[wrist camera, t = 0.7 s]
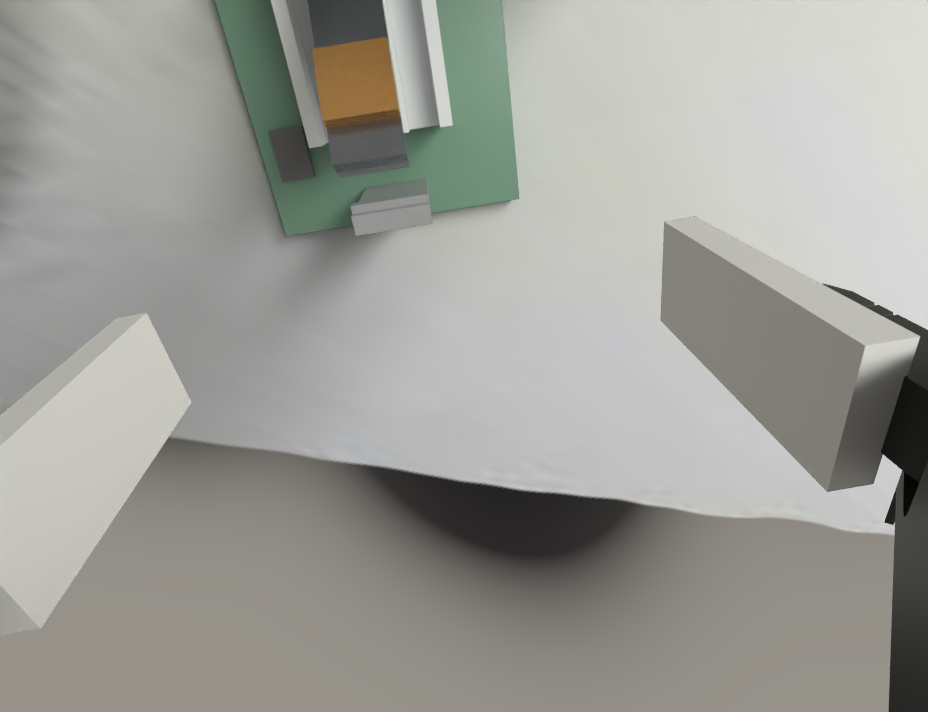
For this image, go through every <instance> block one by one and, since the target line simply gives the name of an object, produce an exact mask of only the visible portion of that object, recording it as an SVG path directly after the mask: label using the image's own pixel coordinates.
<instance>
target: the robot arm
mask: <svg viewBox="0 0 928 712" xmlns="http://www.w3.org/2000/svg"><path fill="white" fill-rule="evenodd" d="M661 321H662V322H663V323H664V324H665V325H666V326H667V328H668V329H669V330H670V331H671V332H672V333H673V334H674V335H675V336H676V337H677V338H678V339H679V340H680V341H681V342H682V343H683V344H684V345H685V346H686V347H687V348H688V349H689V350H690V351H691V352H692V353H693V354H694V355H695V356H696V357H697V358H698V359H699V360H700V361H701V362H702V364H703V365H704V366H705V367H706V368H707V369H708V370H709V371H710V372H711V373H712V374H713V375H714V376H715V377H716V378H717V379H718V380H719V381H720V382H721V383H722V384H723V385H724V386H725V387H726V388H727V389H728V390H729V391H730V392H731V393H732V394H733V395H734V396H735V397H736V398H737V400H738V401H739V402H740V403H741V404H742V405H743V406H744V407H745V408H746V409H747V410H748V411H749V412H750V413H751V414H752V415H753V416H754V417H755V418H756V419H757V420H758V421H759V422H760V423H761V424H762V425H763V426H764V427H765V428H766V429H767V430H768V431H769V432H770V433H771V435H772V436H773V437H774V438H775V439H776V440H777V441H778V442H779V443H780V444H781V445H782V446H783V447H784V448H785V449H786V450H787V451H788V452H789V453H790V454H791V455H792V456H793V457H794V458H795V459H796V460H797V461H798V462H799V463H800V464H801V465H802V466H803V467H804V468H805V469H806V471H807V472H808V473H809V474H810V475H811V476H812V477H813V478H814V479H815V480H816V481H817V482H818V483H819V484H820V485H821V486H822V487H823V488H824V489H825V490H826V491H827V492H829V491H835V490H841V489H847V488H852V487H858V486H864V485H870V484H873V483H874V480H875V477H876V474H877V471H878V468H879V464H880V461H881V458H882V455H885V456H886V457H887V458H888V459H890V460H891V461H892V462H893V463H894V464H896V465H897V466H898V467H899V468H900V469H902V470H903V471H902V473H901V476H900V479H899V482H898V485H897V488H896V491H895V493H894V496H893V499H892V502H891V505H890V508H889V511H888V513H887V516H886V519H885V523H888V524H892V525H893V524H894V522H895V543H894V571H893V572H894V573H893V600H892V631H891V659H890V689H889V712H928V330H927V329H925V328H923V327H921V326H919V325H917V324H915V323H913V322H911V321H909V320H907V319H905V318H903V317H901V316H899V315H893V312H891V311H889V310H887V309H885V308H884V307H882V306H880V305H876V306H875V305H874V302H872V301H870V300H868V299H866V298H864V297H862V296H860V295H858V294H856V293H854V292H852V291H849V290H845V289H841V288H838V287H834V286H830V285H827V284H821V283H819V282H817V281H815V280H813V279H811V278H810V277H808V276H806V275H804V274H802V273H800V272H798V271H796V270H795V269H793V268H791V267H789V266H787V265H785V264H783V263H781V262H779V261H778V260H776V259H774V258H772V257H770V256H768V255H766V254H764V253H763V252H761V251H759V250H757V249H755V248H753V247H751V246H749V245H748V244H746V243H744V242H742V241H740V240H738V239H736V238H734V237H732V236H731V235H729V234H727V233H725V232H723V231H721V230H719V229H717V228H716V227H714V226H712V225H710V224H708V223H706V222H704V221H702V220H701V219H699V218H697V217H695V216H694V217H688V218H682V219H677V220H671V221H665V222H664V242H663V268H662V295H661ZM191 403H192V402H191V400H190V398H189V396H188V394H187V392H186V390H185V388H184V386H183V384H182V382H181V380H180V378H179V376H178V375H177V373H176V371H175V369H174V367H173V365H172V363H171V361H170V359H169V357H168V355H167V353H166V351H165V349H164V347H163V345H162V343H161V341H160V339H159V337H158V335H157V333H156V331H155V329H154V327H153V325H152V323H151V321H150V319H149V317H148V315H147V313H141V314H136V315H130V316H124V317H119V318H116V319H114V320H113V321H112V322H111V323H110V324H108V325H107V326H106V327H105V328H104V329H102V330H101V331H100V332H99V333H98V334H97V335H95V336H94V337H93V338H92V339H91V340H89V341H88V342H87V343H86V344H85V345H83V346H82V347H81V348H80V349H79V350H77V351H76V352H75V353H74V354H73V355H71V356H70V357H69V358H68V359H67V360H66V361H64V362H63V363H62V364H61V365H60V366H58V367H57V368H56V369H55V370H54V371H52V372H51V373H50V374H49V375H48V376H46V377H45V378H44V379H43V380H42V381H40V382H39V383H38V384H37V385H36V386H34V387H33V388H32V389H31V390H30V391H29V392H27V393H26V394H25V395H24V396H23V397H21V398H20V399H19V400H18V401H17V402H15V403H14V404H13V405H12V406H11V407H9V408H8V409H7V410H6V411H5V412H3V413H2V414H1V415H0V636H2V635H8V634H13V633H19V632H25V631H31V630H37V629H41V627H42V626H43V624H44V623H45V621H46V620H47V618H48V617H49V615H50V614H51V612H52V611H53V609H54V608H55V606H56V605H57V603H58V602H59V600H60V599H61V597H62V596H63V594H64V593H65V591H66V590H67V588H68V587H69V585H70V584H71V582H72V581H73V579H74V578H75V576H76V575H77V573H78V572H79V570H80V569H81V567H82V566H83V564H84V563H85V561H86V560H87V558H88V557H89V555H90V554H91V552H92V551H93V549H94V548H95V546H96V545H97V543H98V542H99V540H100V539H101V537H102V536H103V534H104V533H105V531H106V530H107V528H108V527H109V525H110V524H111V522H112V521H113V519H114V518H115V516H116V515H117V513H118V512H119V510H120V509H121V507H122V506H123V504H124V503H125V501H126V500H127V498H128V497H129V495H130V494H131V492H132V491H133V489H134V488H135V486H136V485H137V483H138V482H139V480H140V479H141V477H142V476H143V474H144V473H145V471H146V470H147V468H148V467H149V465H150V464H151V462H152V461H153V459H154V458H155V456H156V455H157V453H158V452H159V450H160V449H161V447H162V446H163V444H164V443H165V441H166V440H167V438H168V437H169V435H170V434H171V432H172V431H173V429H174V428H175V426H176V425H177V423H178V422H179V420H180V419H181V417H182V416H183V415H184V413H185V412H186V410H187V409H188V407H189V406H190V404H191Z"/></svg>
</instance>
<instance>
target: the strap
mask: <svg viewBox="0 0 928 712" xmlns="http://www.w3.org/2000/svg"><path fill="white" fill-rule="evenodd" d="M308 6H309V13H310V20H311V26H312V33H313V40H314V47H315V48H313V49H312V53H313V60H314V67H315V74H316V80H317V87H318V94H319V101H320V108H321V114H322V121H323V123H324V125H325V127H326V129H327V135H328V142H329V149H330V155H331V162H332V166H333V167H334V169H335V171H336V173H337V174H338V176H339V178H345V177H351V176H357V175H363V174H370V173H376V172H382V171H389V170H395V169H401V168H407V167H410V166H409V159H408V153H407V147H406V142H405V137H404V131H403V125H402V118H401V112H400V106H399V100H398V93H397V87H396V81H395V74H394V68H393V62H392V56H391V49H390V43H389V37H388V30H387V24H386V18H385V12H384V5H383V0H308Z"/></svg>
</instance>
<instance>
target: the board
mask: <svg viewBox="0 0 928 712" xmlns="http://www.w3.org/2000/svg"><path fill="white" fill-rule="evenodd" d="M215 3H216V6H217V10H218V13H219V16H220V20H221V23H222V26H223V29H224V33H225V36H226V39H227V43H228V46H229V49H230V53H231V56H232V59H233V62H234V66H235V69H236V72H237V76H238V79H239V82H240V86H241V89H242V92H243V96H244V99H245V102H246V105H247V109H248V112H249V115H250V119H251V122H252V125H253V129H254V132H255V135H256V138H257V142H258V145H259V148H260V152H261V155H262V158H263V162H264V165H265V168H266V171H267V175H268V178H269V181H270V185H271V188H272V191H273V195H274V198H275V201H276V205H277V208H278V211H279V214H280V218H281V221H282V224H283V228H284V231H285V234H286V236H291V235H297V234H303V233H310V232H316V231H322V230H328V229H335V228H341V227H347V226H353V227H354V231H355V235H356V236H359V235H366V234H372V233H378V232H384V231H391V230H397V229H403V228H409V227H415V226H422V225H428V224H432V217H431V213H434V212H441V211H447V210H453V209H459V208H466V207H472V206H478V205H484V204H491V203H497V202H503V201H509V200H516V199H519V190H518V178H517V167H516V156H515V144H514V133H513V122H512V110H511V99H510V87H509V76H508V65H507V53H506V42H505V31H504V19H503V8H502V0H383V5H384V12H385V18H386V24H387V30H388V37H389V43H390V49H391V56H392V62H393V68H394V74H395V81H396V87H397V93H398V100H399V106H400V112H401V118H402V125H403V131H404V137H405V142H406V147H407V153H408V159H409V166H410V167H407V168H401V169H395V170H389V171H382V172H376V173H370V174H363V175H357V176H351V177H345V178H339V176H338V174H337V173H336V171H335V169H334V167H333V166H332V162H331V155H330V149H329V142H328V135H327V129H326V127H325V125H324V123H323V121H322V114H321V108H320V101H319V94H318V87H317V80H316V74H315V67H314V60H313V53H312V49H313V48H315V47H314V40H313V33H312V26H311V20H310V13H309V6H308V0H215Z"/></svg>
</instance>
